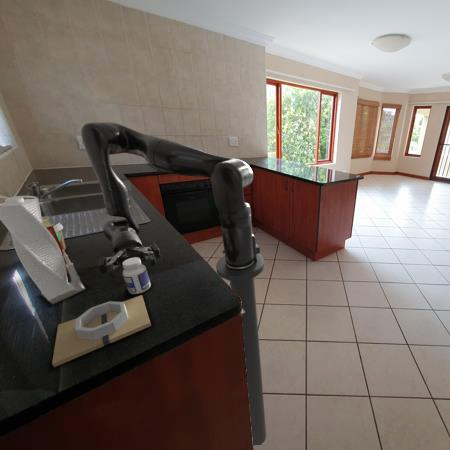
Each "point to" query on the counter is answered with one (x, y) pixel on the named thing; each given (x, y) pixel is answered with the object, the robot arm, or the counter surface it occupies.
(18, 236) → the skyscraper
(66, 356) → the pad dock
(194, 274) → the counter surface
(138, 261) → the pill bottle
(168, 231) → the counter surface
